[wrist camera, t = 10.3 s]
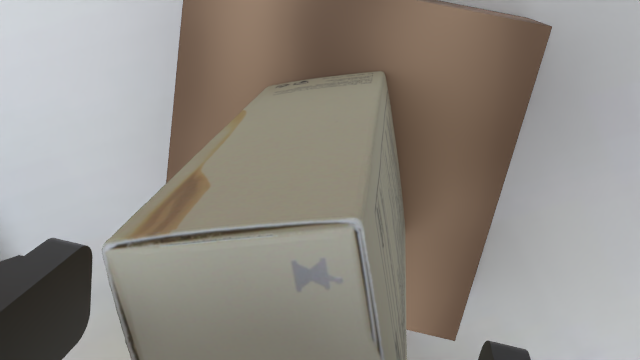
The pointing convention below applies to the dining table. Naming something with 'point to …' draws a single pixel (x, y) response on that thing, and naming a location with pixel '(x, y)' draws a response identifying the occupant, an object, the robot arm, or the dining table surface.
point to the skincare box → (274, 236)
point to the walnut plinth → (406, 106)
